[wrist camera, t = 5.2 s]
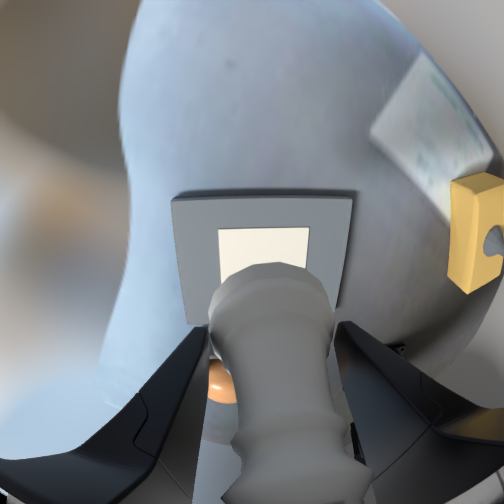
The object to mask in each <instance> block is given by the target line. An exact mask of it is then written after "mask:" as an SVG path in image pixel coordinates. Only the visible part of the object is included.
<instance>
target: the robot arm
mask: <svg viewBox="0 0 504 504" xmlns="http://www.w3.org/2000/svg"><path fill="white" fill-rule="evenodd" d="M334 347H335V352H336V357H337V362H338V367H339V372H340V377H341V382H342V385H343V391H345V395H346V398H347V401H348V404H349V407H350V410H351V414H352V417H353V420H354V422H352V423H350V426H351V437H352V443H353V449H354V455H355V456H354V459H355V460H357V461H358V462H360V463H362V464H363V465H365V466H367V467H369V468H370V469H372V470H373V472H374V473H375V476H374V478H373V480H372V482H371V484H372V487H373V491H374V495H375V499H376V503H377V504H504V408H495V409H490V408H484V407H481V406H478V405H476V404H474V403H472V402H471V401H469V400H467V399H465V398H464V397H462V396H460V395H458V394H456V393H455V392H453V391H451V390H450V389H448V388H446V387H445V386H443V385H441V384H440V383H438V382H436V381H435V380H434V379H432V378H431V377H429V376H428V375H427V374H425V373H424V372H421V370H419V369H418V368H417V367H415V366H414V365H412V364H411V363H409V362H408V361H407V360H405V359H404V358H402V356H403V354H404V352H405V350H406V346H405V344H400V345H396V346H391V347H387V346H385V345H384V344H383V343H381V342H380V341H378V340H377V339H376V338H374V337H373V336H371V335H370V334H369V333H367V332H366V331H364V330H363V329H362V328H360V327H359V326H357V325H356V324H354V323H353V322H351V321H341V322H339V323H338V326H337V330H336V334H335V338H334ZM209 360H210V344H209V336H208V329H207V327H194V328H193V329H192V330H191V332H190V333H189V334H188V335H187V336H186V337H185V338H184V340H183V341H182V342H181V343H180V344H179V345H178V347H177V348H176V349H175V350H174V351H173V352H172V353H171V355H170V356H169V357H168V358H167V359H166V360H165V361H164V363H163V364H162V365H161V366H160V367H159V368H158V369H157V371H156V372H155V373H154V374H153V375H152V376H151V377H150V379H149V380H148V381H147V382H146V383H145V384H144V385H143V387H142V388H141V389H140V390H139V393H136V394H135V396H134V397H133V398H132V399H131V400H130V401H129V402H128V403H127V404H126V405H125V406H124V408H123V409H122V410H121V411H120V412H119V413H118V414H116V415H115V416H114V417H113V418H112V419H111V420H110V421H109V422H108V423H107V424H105V425H104V426H103V427H102V428H101V429H100V430H99V431H97V432H96V433H95V434H94V435H93V436H91V437H90V438H89V439H88V440H87V441H86V442H85V443H84V444H82V445H81V446H79V447H77V448H76V449H74V450H71V451H69V452H66V453H61V454H56V455H50V456H43V457H36V458H28V459H19V460H7V459H2V458H0V488H2V489H3V490H5V491H6V492H8V496H7V495H5V494H4V493H2V492H1V491H0V504H192V498H193V491H194V483H195V477H196V469H197V463H198V456H199V449H200V442H201V436H202V429H203V423H204V416H205V410H206V403H207V397H208V390H209Z"/></svg>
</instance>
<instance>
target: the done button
mask: <svg viewBox="0 0 504 504" xmlns="http://www.w3.org/2000/svg"><path fill="white" fill-rule="evenodd" d="M208 397H209V398H210V399H212V400H214V401H217V402H220V403H235V402H237V400H236V394H235V389H234V384H233V380H232V377H231V375H230V374H229V373H228V372H227V371H226V370H225V369H224V367H223V364H222V361H221V360H220V359H212V360H211V361H209V390H208Z"/></svg>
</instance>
